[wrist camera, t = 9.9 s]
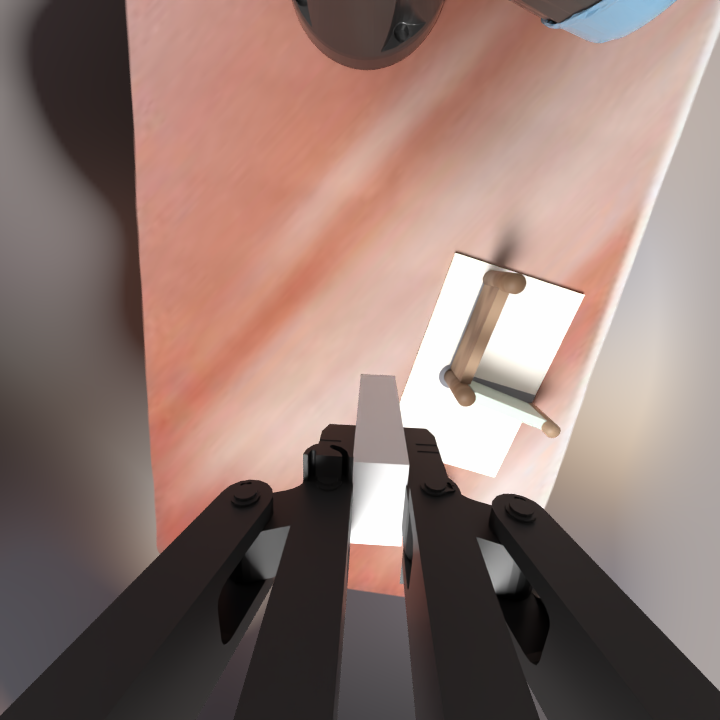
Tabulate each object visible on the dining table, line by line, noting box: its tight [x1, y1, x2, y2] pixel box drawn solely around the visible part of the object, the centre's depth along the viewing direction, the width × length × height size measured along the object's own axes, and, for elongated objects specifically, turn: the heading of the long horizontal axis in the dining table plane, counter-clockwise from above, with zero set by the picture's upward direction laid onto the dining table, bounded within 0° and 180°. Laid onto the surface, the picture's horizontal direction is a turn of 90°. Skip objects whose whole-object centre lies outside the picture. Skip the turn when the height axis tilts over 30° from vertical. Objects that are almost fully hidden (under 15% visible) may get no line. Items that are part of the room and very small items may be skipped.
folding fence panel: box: [468, 381, 561, 438], centre depth 41 cm, size 10×2×6 cm, turn 68°
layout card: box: [399, 253, 585, 477], centre depth 44 cm, size 26×16×1 cm, turn 163°
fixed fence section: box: [444, 270, 526, 407], centre depth 39 cm, size 14×2×7 cm, turn 163°
